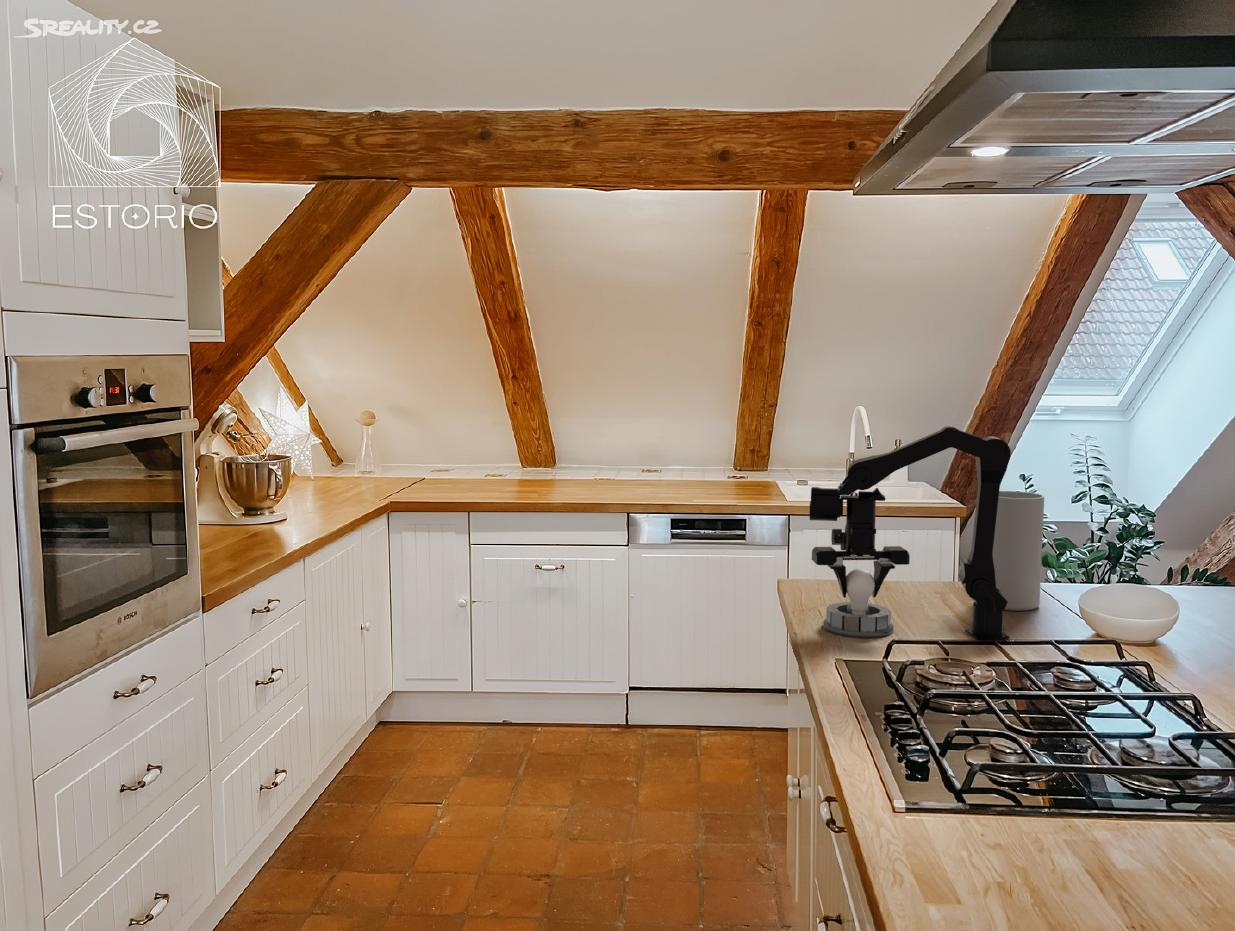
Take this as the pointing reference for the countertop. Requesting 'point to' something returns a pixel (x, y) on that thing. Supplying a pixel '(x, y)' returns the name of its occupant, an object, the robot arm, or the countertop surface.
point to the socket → (858, 621)
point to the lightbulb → (859, 590)
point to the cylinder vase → (1019, 548)
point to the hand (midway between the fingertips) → (859, 597)
